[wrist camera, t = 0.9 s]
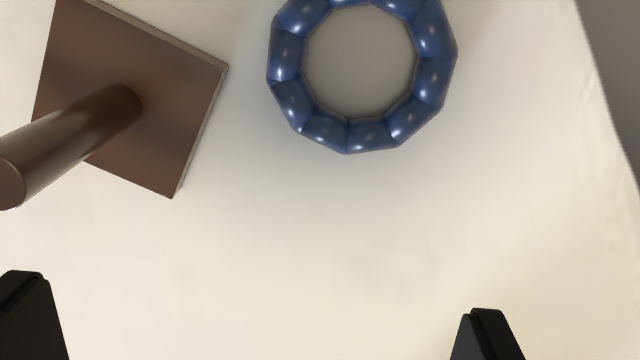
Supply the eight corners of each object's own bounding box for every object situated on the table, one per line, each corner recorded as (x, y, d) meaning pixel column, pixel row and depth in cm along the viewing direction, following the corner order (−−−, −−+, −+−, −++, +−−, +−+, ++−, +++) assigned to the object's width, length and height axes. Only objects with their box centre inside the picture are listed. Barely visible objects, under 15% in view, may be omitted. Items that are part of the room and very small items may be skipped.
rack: (74, -13, 23) (-144, -5, 13) (229, 64, 24) (149, 130, 14) (42, 129, 26) (-147, 227, 16) (179, 189, 28) (86, 314, 18)
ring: (315, -79, 21) (314, -83, 19) (489, 22, 23) (502, 26, 21) (240, 98, 25) (233, 107, 23) (393, 172, 27) (396, 186, 25)
